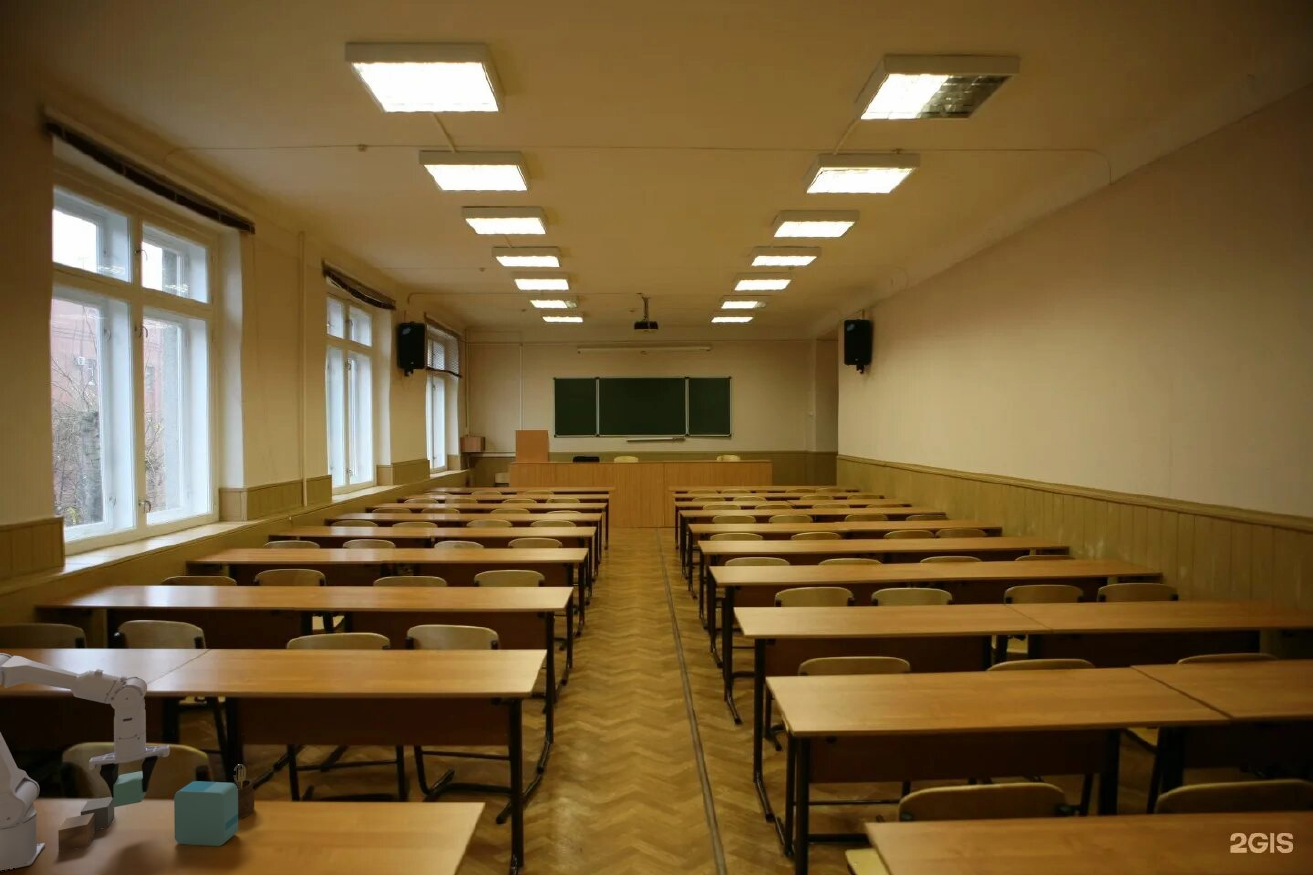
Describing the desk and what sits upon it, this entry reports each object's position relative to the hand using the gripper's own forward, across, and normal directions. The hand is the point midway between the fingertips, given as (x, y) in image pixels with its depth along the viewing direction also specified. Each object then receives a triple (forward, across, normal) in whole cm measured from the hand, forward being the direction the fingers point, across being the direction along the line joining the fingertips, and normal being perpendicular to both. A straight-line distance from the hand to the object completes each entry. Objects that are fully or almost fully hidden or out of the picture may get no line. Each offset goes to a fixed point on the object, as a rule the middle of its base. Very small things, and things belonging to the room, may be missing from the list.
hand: (130, 792), depth 155 cm
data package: (+10, -16, +10) cm, 21 cm away
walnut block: (+10, +10, -1) cm, 14 cm away
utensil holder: (+10, -22, +1) cm, 24 cm away
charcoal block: (+10, +8, -8) cm, 15 cm away
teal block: (+1, 0, 0) cm, 1 cm away
